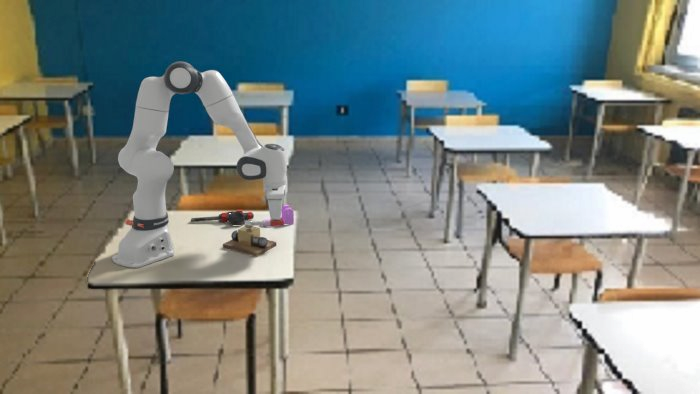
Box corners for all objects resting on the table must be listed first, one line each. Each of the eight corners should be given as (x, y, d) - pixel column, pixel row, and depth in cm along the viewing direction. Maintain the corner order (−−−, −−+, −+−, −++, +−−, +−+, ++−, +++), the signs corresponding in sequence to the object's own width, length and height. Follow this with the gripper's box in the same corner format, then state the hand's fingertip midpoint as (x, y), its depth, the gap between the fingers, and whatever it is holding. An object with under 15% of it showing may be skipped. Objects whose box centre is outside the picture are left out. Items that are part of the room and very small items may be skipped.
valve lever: (244, 227, 225) (244, 222, 224) (245, 225, 227) (244, 220, 227) (283, 226, 227) (283, 221, 226) (283, 223, 229) (283, 218, 229)
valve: (256, 218, 264) (253, 225, 249) (196, 221, 262) (189, 229, 248) (255, 203, 263) (251, 210, 248) (194, 207, 261) (187, 214, 247)
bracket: (290, 219, 257) (290, 204, 255) (293, 224, 252) (293, 208, 250) (260, 223, 253) (259, 207, 250) (263, 227, 248) (262, 211, 245)
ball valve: (260, 250, 223) (260, 233, 221) (229, 242, 230) (228, 225, 228) (270, 245, 227) (269, 228, 225) (239, 237, 234) (238, 221, 232)
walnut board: (256, 257, 220) (256, 253, 220) (222, 247, 228) (222, 244, 227) (276, 245, 230) (276, 242, 230) (243, 237, 238) (243, 233, 237)
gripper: (267, 179, 235) (269, 212, 239) (265, 196, 215) (267, 232, 220) (284, 179, 235) (285, 212, 240) (283, 196, 216) (284, 232, 220)
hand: (276, 222), depth 230 cm, fingers closed
